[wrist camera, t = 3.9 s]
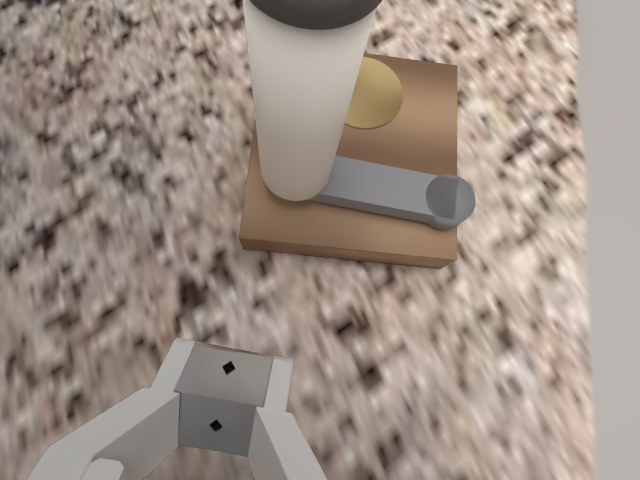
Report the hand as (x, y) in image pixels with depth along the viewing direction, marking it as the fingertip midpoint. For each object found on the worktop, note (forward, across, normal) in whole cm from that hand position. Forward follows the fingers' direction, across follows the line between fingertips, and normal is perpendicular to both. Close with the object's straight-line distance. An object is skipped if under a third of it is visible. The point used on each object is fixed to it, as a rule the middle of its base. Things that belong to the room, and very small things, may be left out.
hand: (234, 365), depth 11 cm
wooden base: (+18, -3, 0) cm, 18 cm away
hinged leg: (+14, -4, 0) cm, 14 cm away
